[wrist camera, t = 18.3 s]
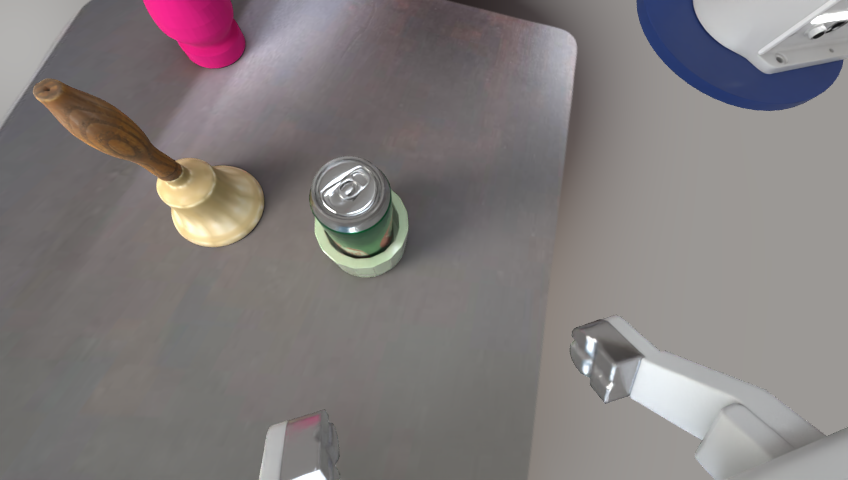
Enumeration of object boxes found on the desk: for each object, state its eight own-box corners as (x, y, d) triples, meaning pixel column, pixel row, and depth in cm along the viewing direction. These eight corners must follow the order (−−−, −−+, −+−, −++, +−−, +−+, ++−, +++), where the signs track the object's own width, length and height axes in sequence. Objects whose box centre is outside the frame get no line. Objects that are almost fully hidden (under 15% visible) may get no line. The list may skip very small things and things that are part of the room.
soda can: (329, 242, 30) (285, 189, 19) (366, 205, 31) (348, 134, 20) (367, 277, 29) (348, 246, 18) (404, 239, 31) (408, 186, 19)
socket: (404, 200, 32) (405, 178, 28) (408, 274, 30) (410, 265, 26) (327, 203, 32) (315, 181, 27) (327, 279, 30) (313, 270, 25)
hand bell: (276, 176, 32) (163, 38, 17) (247, 255, 30) (87, 180, 14) (193, 158, 32) (2, 2, 16) (159, 237, 30) (-100, 141, 14)
